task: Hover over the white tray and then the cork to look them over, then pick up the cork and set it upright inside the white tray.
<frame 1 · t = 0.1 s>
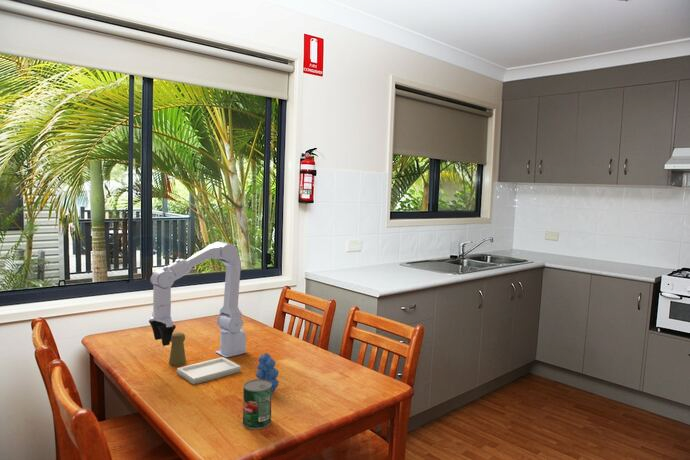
hand: (162, 342, 173), 10 cm above the table, tool pointing down, fingers open, 7 cm apart
white tray: (209, 372, 173), on the table
canned tomato: (256, 423, 138), on the table
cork: (177, 363, 181), on the table
grapes: (264, 391, 159), on the table
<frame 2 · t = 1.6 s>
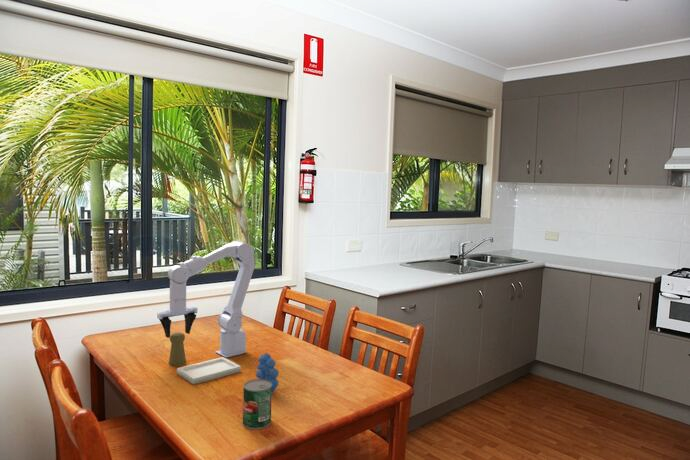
hand: (177, 335, 180), 10 cm above the table, tool pointing down, fingers open, 7 cm apart
nothing on the table moved.
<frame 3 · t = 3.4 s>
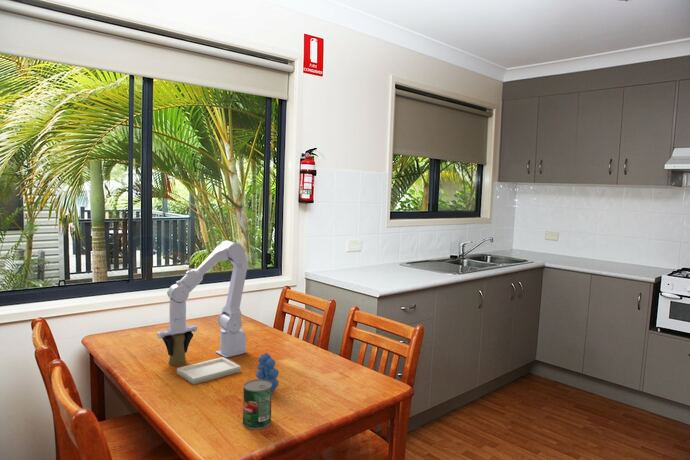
hand: (177, 353, 181), 3 cm above the table, tool pointing down, fingers closed on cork, 5 cm apart
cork: (177, 363, 181), on the table, touching gripper
everything else where it was.
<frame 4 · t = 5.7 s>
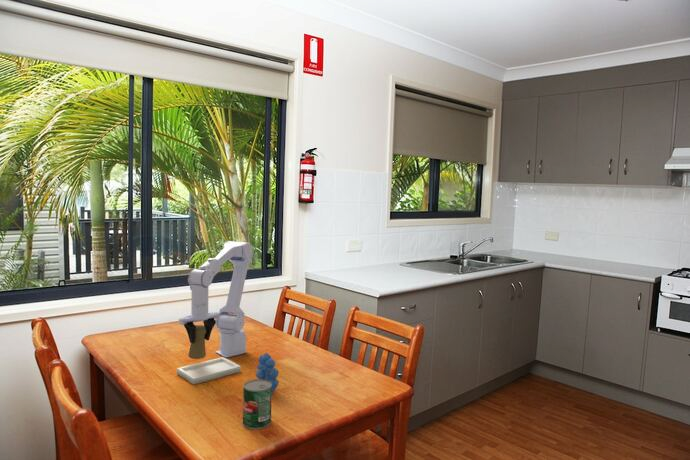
hand: (199, 341, 174), 10 cm above the table, tool pointing down, fingers closed on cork, 5 cm apart
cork: (197, 355, 176), point 5 cm above the table, touching gripper
everything else where it was.
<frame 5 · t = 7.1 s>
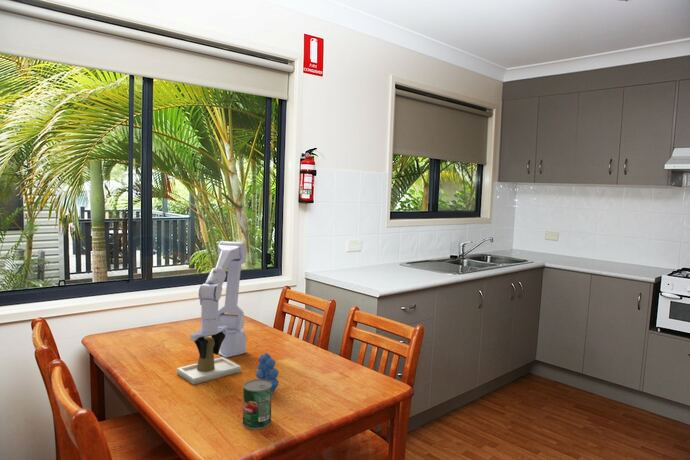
hand: (209, 355, 172), 6 cm above the table, tool pointing down, fingers closed on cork, 5 cm apart
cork: (205, 368, 174), point 1 cm above the table, touching white tray, gripper
everything else where it was.
when the fingers open (6 cm above the table, at t = 8.1 s): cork stays where it is, resting on white tray.
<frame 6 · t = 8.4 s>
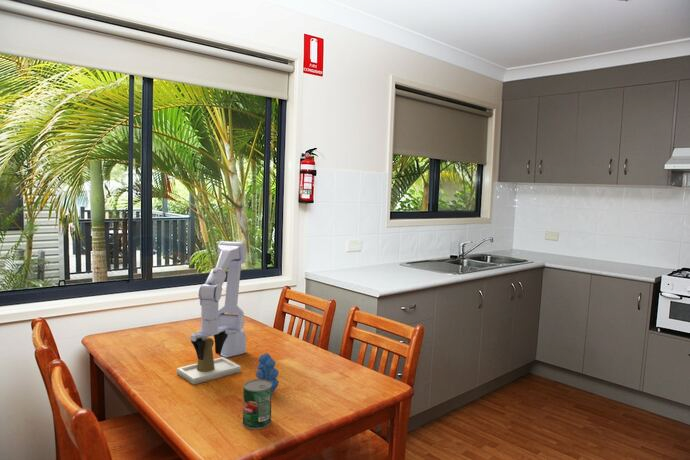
hand: (209, 356, 172), 6 cm above the table, tool pointing down, fingers open, 7 cm apart
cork: (205, 369, 174), point 1 cm above the table, touching white tray
everything else where it was.
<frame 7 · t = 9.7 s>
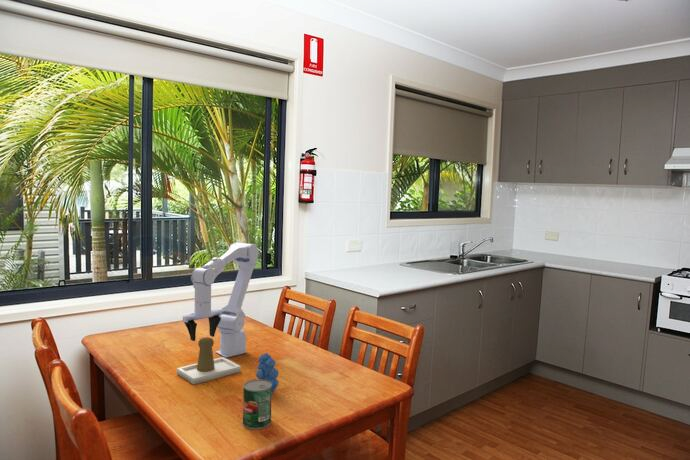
hand: (202, 338, 178), 10 cm above the table, tool pointing down, fingers open, 7 cm apart
nothing on the table moved.
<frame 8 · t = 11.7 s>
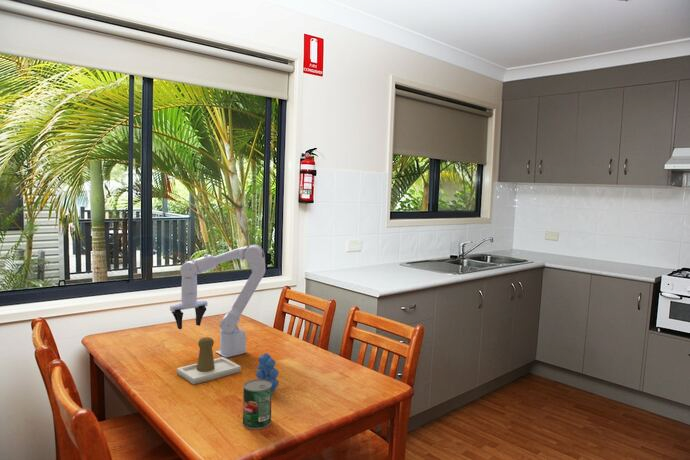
hand: (189, 326, 191), 10 cm above the table, tool pointing down, fingers open, 7 cm apart
nothing on the table moved.
at the end: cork inside the target area on the white tray (1.8 cm from its centre), point 0.8 cm above the white tray's base; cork tilted 0°; the gripper is holding nothing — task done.
